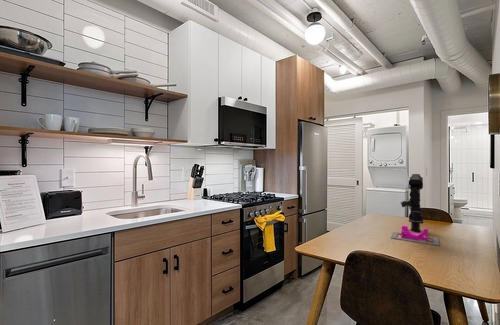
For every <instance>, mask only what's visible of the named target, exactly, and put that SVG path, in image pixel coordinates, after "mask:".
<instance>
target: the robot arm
mask: <svg viewBox="0 0 500 325" xmlns="http://www.w3.org/2000/svg"><path fill="white" fill-rule="evenodd" d="M423 179H424V178H423V177H422V176H421V174H419V173H413V174H412V175H411V176H410V177H409V180H408V187H407V189H409V190H410V191H409V199H407V200H402V201H400V205H401V207H402V208H406V207H408V208H409V211H410V213H409V214H408V215H409V216H408V222H409V223H410V229H409V230H410V231H411V232H419V233H421V232H422V230H421V225H422V224H424V217H423V215H422V212H423V208H422V207H421V191H422V190H423V189H424V180H423Z"/></svg>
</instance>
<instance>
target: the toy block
mask: <svg viewBox="0 0 500 325" xmlns="http://www.w3.org/2000/svg"><path fill="white" fill-rule="evenodd" d="M400 233H401V237H400V238H404V239H411V240H418V241H422V240H425V241H424V242H429V239H428V237H429V228H428V227H427V228H426V227H424V229H423V230H422V231H421V232H419V233H415V232H414V231H411V230H410V229H409V227H408V225H406V224H402V226H401V232H400ZM424 236H426V237H424Z"/></svg>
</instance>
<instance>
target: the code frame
mask: <svg viewBox="0 0 500 325" xmlns="http://www.w3.org/2000/svg"><path fill="white" fill-rule="evenodd" d="M398 235H401V232H397V231H392V234H391V236H390V239H391V240H397V241H398V240H399V241H404V242H405V241H406V242H412V243H417V244H418V243H419V244H424V245H430V246H438V247H440V241H439V240H440V239H439V238H438V237H431V236H428V240H432V242H430V241H425V240H413V239H407V238H401V237H398ZM424 237H426V236H424Z"/></svg>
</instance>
